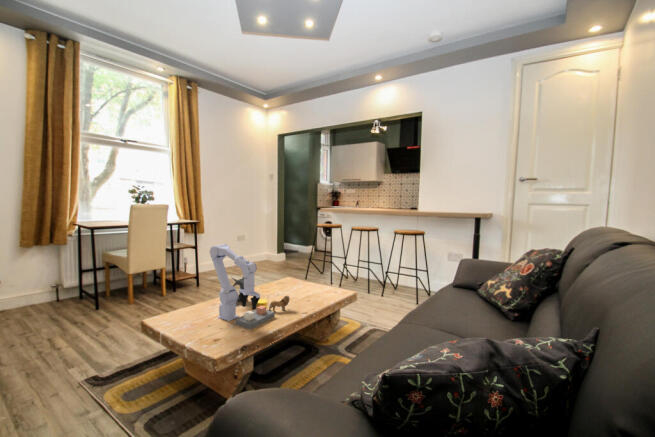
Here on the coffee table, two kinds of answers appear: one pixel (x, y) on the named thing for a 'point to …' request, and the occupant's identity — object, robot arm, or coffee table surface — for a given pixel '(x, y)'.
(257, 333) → the coffee table surface
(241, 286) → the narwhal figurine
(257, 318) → the button housing
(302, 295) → the coffee table surface
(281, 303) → the lion figurine
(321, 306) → the coffee table surface
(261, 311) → the salmon pink block
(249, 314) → the cream cube
